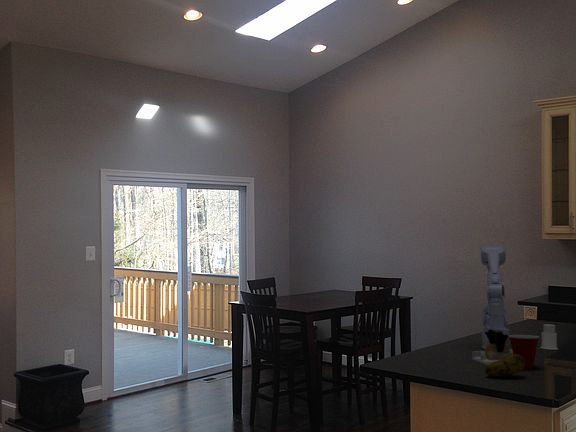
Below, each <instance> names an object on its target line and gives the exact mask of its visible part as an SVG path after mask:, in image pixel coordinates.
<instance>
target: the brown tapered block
mask: <svg viewBox="0 0 576 432" xmlns="http://www.w3.org/2000/svg"><path fill="white" fill-rule="evenodd" d="M509 349H510V344H508V343H506V342H505V346H504V350H503V352H497V348H496V343H495V344H485V349H484V351H485V356H486V359H488V360H501V359H502V358H503V357H505V356H507V355H509Z"/></svg>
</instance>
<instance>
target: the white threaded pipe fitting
mask: <svg viewBox="0 0 576 432" xmlns="http://www.w3.org/2000/svg"><path fill="white" fill-rule="evenodd" d="M557 335H558V333H557V332H556V324H551V323H550V324H549V323H547V324H543V331H542V332H541V346H540V349H543V350H559V348H558V347H557V346H558V343H557V341H558V336H557Z"/></svg>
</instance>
